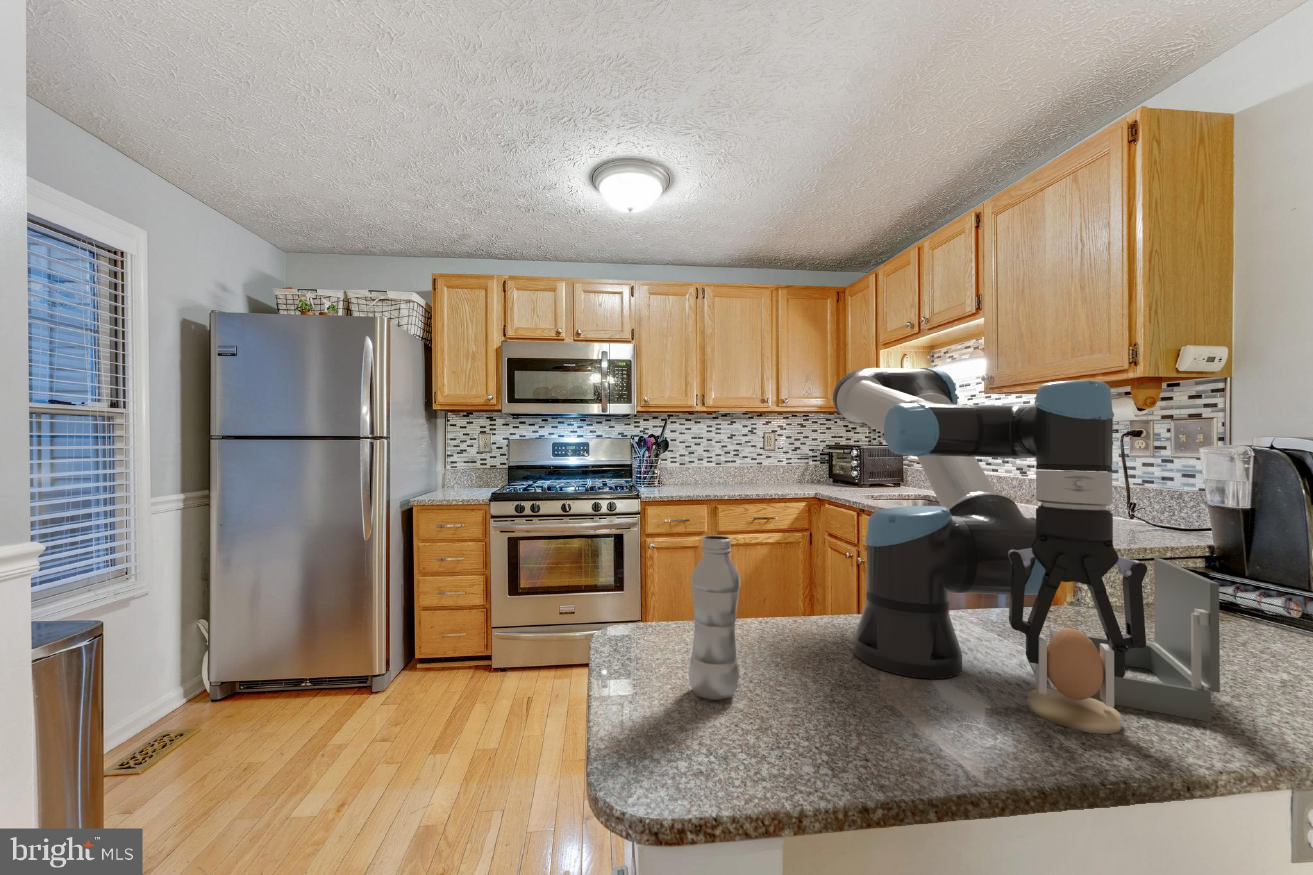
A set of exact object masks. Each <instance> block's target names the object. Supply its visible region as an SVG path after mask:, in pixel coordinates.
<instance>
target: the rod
mask: <svg viewBox="0 0 1313 875" xmlns="http://www.w3.org/2000/svg"><path fill="white" fill-rule="evenodd" d="M1030 665H1031V668H1032V670H1033V672H1034V675H1036V663H1030ZM1048 681H1049V678H1048V676H1047V682H1048Z"/></svg>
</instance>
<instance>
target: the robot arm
mask: <svg viewBox="0 0 1313 875" xmlns="http://www.w3.org/2000/svg"><path fill="white" fill-rule="evenodd" d="M956 392H957V386H956V384H955V382H954V380H953V379H952V377H951V376H950V374H949V373H947V372H946V371H944V370H941V369H934V368H929V367H921V368H901V367H900V368H899V367H898V368H895V367H890V368H889V367H866V368H861V369H857V370H854V371H851V372H850V373H847V374H846V375H844V376H843V377H842V378H840V379H839V381H838V382H837V383H836V385H835V387H834V389H833V393H832V403H833V406H834V408H835V411H836V412H837V413H838V414H839V415H840V416H841V417H843V418H844V419H846V420H848V421H850V422H853V423H858V424H860V423H861V424H862V423H864V424H865V425H868V426H870V427H871V428H873V429H875V430H877V431H878V432H880V433H882V434H883V435H884V436H883V437H884V441H885V443H886V444H887V448H888V449H889V451H890V452H892V453H893V454H895V455H906V456H910V457H911V456H912V457H917V460H918V461H919V464H920V466H921V468H922V470H923V472H924V474H925V476H926V478H927V480H928V482H929V484H930V486H931V488H932V490H933V492H934V494H935V497H936V499H937V501H938V503H939V505H907V506H906V505H905V506H897V507H888V508H882V509H879V510H877V511H875V512H872V514H871V515H870V516H869V517H868V521H867V532H866V537H865V544H866V588H865V589H866V590H865V591H866V592H865V593H866V594H865V595H866V598H865V606H864V608H863V611H862V613H861V617H860V619H859V622H858V624H857V628H856V630H855V632H854V633H855V634H854V636H853V653H854V655H855V656H856V657H857V659H859V660H860V661H861V662H863V663H865V664H867V665H869V666H871V667H874V668H876V669H878V670H882V671H885V672H888V673H892V674H894V675H895V674H896V675H900V676H905V677H911V678H918V679H930V680H931V679H947V678H948V679H949V678H953V677H956V676H958V675H960V674H961V673H962V671H963V651H962V650H961V646H960V644H959V640H958V638H957V637H958V636H957V634H956V632H955V628H954V625H953V622H952V619H951V615H950V594H951V593H952V594H956V593H957V594H978V595H979V594H981V595H987V594H988V595H1003V596H1004V595H1006V596H1009V610H1008V622H1009V625H1010V627H1011V629H1013V630H1014V631H1018V632H1020V633H1022V634H1023V635H1025V656H1026V658H1027V661H1028V663H1029V664H1031V663H1036V674H1035V686H1036V689H1038V691H1039V693H1040V694H1046V695H1047V689H1048V681H1047V646H1048V641H1047V639H1046V638H1045V636H1044V635H1043V634H1041V633H1042V630H1043V627H1044V624H1045V622H1046V620H1047V617H1048V614H1049V612H1050V609H1051V606H1052V603H1053V601H1054V598H1055V596H1056V593H1057V590H1059V588H1060V586H1061V583H1071V582H1076V583H1079V584H1082V585H1086V586H1087V589H1088V590H1089V593H1090V596H1091V598H1092V601H1093V603H1094V607H1095V609H1096V613H1097V615H1098V619H1099V621H1100V624H1101V625H1102V629H1103V631H1104V635H1105V637H1106V638H1107V640H1108V642H1109V645H1108V644H1101V643H1100V656H1101V659H1102V662H1103V667H1104V678H1103V683H1102V685H1101V687H1100V698H1101V699H1102V701H1103V703H1104V704H1105V705H1106V706H1109V707H1112V708H1115V704H1114V677H1120V678H1123V677H1124V676H1126V665H1125V653H1126V652H1127V651H1128V649H1130V648H1144V647H1145V646H1146V644H1147V636H1146V635H1147V634H1146V623H1145V622H1146V621H1145V620H1146V619H1145V609H1144V595H1143V594H1144V593H1143V581H1144V579H1145V577H1146V574H1147V572H1148V566H1147V565H1146V564H1145V563H1144V562H1141V561H1139V560H1137V559H1128V558H1126V557H1123V556H1120V555H1119V554H1118V551H1116V549H1115V547H1114V546H1115V545H1114V519H1113V518H1114V515H1113V514H1114V513H1112V512H1111V511H1112V510H1109V509H1107V506H1108V507H1109V506H1111V505H1112V504H1113V503H1114V502H1113V500H1114V499H1113V439H1114V438H1113V435H1114V434H1113V433H1114V432H1113V429H1114V427H1113V426H1114V422H1113V421H1114V417H1115V413H1114V411H1113V402H1112V390H1111V387H1110V386H1109V385H1108V384H1107V383H1106V382H1103V381H1100V380H1091V379H1090V380H1089V379H1088V380H1087V379H1085V380H1083V379H1081V380H1080V379H1077V380H1064V381H1062V380H1061V381H1052V382H1051V381H1050V382H1046V383H1043V384H1041V385H1040V386H1039V387H1038V388H1037V390H1036V395H1035V399H1034V403H1030V404H1023V405H1022V404H1021V405H1002V404H1001V405H1000V404H999V405H997V404H996V405H995V404H994V405H993V404H991V405H990V404H958V401H959V400H958V393H956ZM977 458H997V459H998V458H999V459H1003V460H1004V459H1005V460H1006V459H1007V460H1009V459H1012V460H1019V459H1033V458H1034V459H1035V461H1036V463H1035V464H1036V466H1035V469H1036V470H1035V472H1036V473H1035V500H1036V501H1037V502H1038V503H1039V502H1040V503H1041V504H1040V505H1038V506H1037V508H1035V517H1033V516H1032V517H1026V516H1024V514H1023V513H1022V512H1021V510H1020V509H1019V506H1018V505H1017V503H1016V502H1015V501H1014V500H1013V498H1011V497H1009V496H1007V495H1005V494H1000V493H997V491H996V489H995V488H994V487H993V485H992V483H991V481H990V480H989V478H988V476H987V475H986V472H985V471H984V470H983V469H982V467H981V465H980V464H979V461H978V460H977ZM1115 565H1116V566H1117V568H1118V569H1117V570H1118V571H1117V572H1118V573H1119V574H1120V575H1121V576H1122V592H1123V593H1122V594H1123V595H1122V596H1123V608H1124V620H1125V621H1124V622H1125V623H1124V624H1125V633H1124V634H1123V633H1122V631H1121V628H1120V626H1119V623H1118V620H1117V618H1116V614H1115V611H1114V609H1113V607H1112V604H1111V601H1110V597H1109V595H1108V593H1107V587H1106V585H1105V583H1104V580H1103V577H1104V576H1105V575H1106V574H1107V573H1108V572H1109V571H1110V570H1111V569H1112V568H1114V566H1115ZM1034 595H1035V600H1034V602H1033V605H1032V608H1031V610H1030V612H1029V613H1030V614H1029V616H1028V619H1027V621H1025V620H1024V619H1023V618H1024V609H1025V608H1024V606H1025V596H1034Z"/></svg>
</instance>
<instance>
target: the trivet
mask: <svg viewBox="0 0 1313 875" xmlns="http://www.w3.org/2000/svg"><path fill="white" fill-rule="evenodd" d="M1027 706H1028V708H1029V709H1030V710H1031V712H1033V713H1034V714H1036V715H1037V716H1038V717H1041V718H1042V719H1045V720H1046V721H1048V722H1051V723H1052V724H1053V723H1054V724H1055V725H1056V724H1057V725H1059V726H1061V727H1065V728H1068V729H1072V730H1076V731H1080V732H1083V733H1085V732H1086V733H1091V734H1099V735H1100V734H1101V735H1108V734H1109V735H1112V734H1116V733H1119V732H1120V731H1121V730H1122V715H1121V713H1120V712H1119V711H1118V710H1117V709H1115V707H1109V706H1106V705H1105V704H1104V702H1101V701H1098V700H1096V699H1093V698H1087V699H1083V700H1075V699H1071V698H1069V697H1066V696H1064V695H1063V694H1062V693H1060V692H1059V691H1058V690H1057V689H1056V688H1055V689H1054V688H1047V695H1046V694H1040V693H1039V691H1038V689H1037V688H1035V689H1032V690H1030V691H1028V693H1027Z"/></svg>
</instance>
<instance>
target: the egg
mask: <svg viewBox="0 0 1313 875" xmlns="http://www.w3.org/2000/svg"><path fill="white" fill-rule="evenodd" d="M1087 636H1088V635H1086V634H1085V633H1083V632H1082V631H1080V630H1078V629H1075V628H1065V629H1061V630H1059V631H1058V633H1056V634H1055V635H1054V636H1053V638H1052V639H1051V640H1050V639H1049V642H1048V643H1047V676H1048V680H1049V681H1050V683H1051V684H1052V685H1053V687H1054V688H1055V689H1056V690H1058V691H1059V692H1060V693H1062V694H1063V695H1064V696H1066V697H1069V698H1071V699H1075V700H1083V699H1087V698H1090V697H1091V696H1093V695H1094V694H1096V693H1097V692H1098V690H1099V689H1100V687H1101V685H1102V683H1103V678H1104V667H1103V662H1102V659H1101V656H1100V654H1099V652H1098V650H1097V648H1096V646H1095V645H1094V643H1093V642H1092V640H1091V639H1089V638H1088V637H1087Z"/></svg>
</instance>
